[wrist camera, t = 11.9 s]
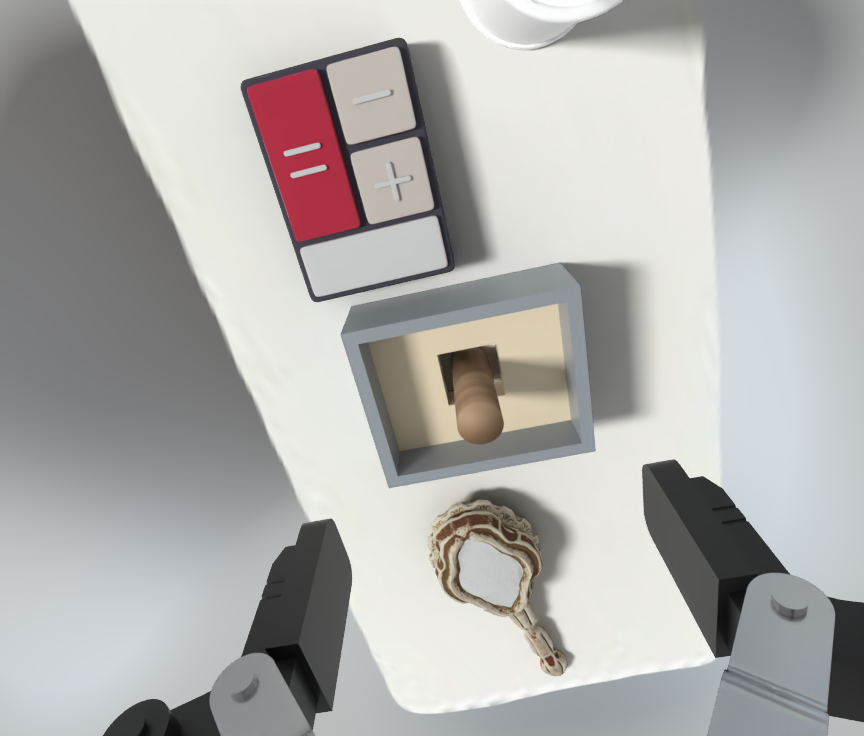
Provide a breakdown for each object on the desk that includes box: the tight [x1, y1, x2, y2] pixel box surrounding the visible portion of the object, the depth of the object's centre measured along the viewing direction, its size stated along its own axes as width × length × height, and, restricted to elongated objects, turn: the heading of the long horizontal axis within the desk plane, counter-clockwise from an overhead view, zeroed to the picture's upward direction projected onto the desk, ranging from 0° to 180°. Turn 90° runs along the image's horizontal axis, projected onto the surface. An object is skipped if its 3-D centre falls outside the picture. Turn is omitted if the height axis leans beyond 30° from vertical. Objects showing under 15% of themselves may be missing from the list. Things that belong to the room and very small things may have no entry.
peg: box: [451, 347, 504, 445], centre depth 40 cm, size 3×3×10 cm
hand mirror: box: [428, 500, 567, 676], centre depth 55 cm, size 11×6×30 cm
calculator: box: [241, 38, 455, 302], centre depth 37 cm, size 11×4×15 cm
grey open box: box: [341, 263, 596, 488], centre depth 42 cm, size 14×17×6 cm
